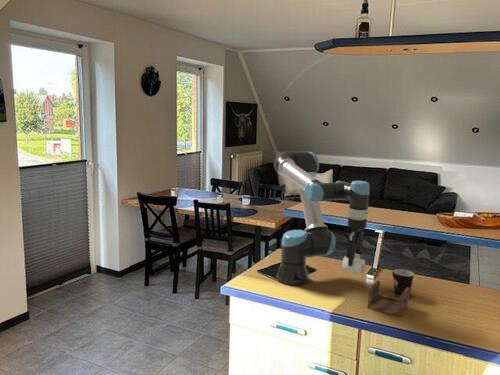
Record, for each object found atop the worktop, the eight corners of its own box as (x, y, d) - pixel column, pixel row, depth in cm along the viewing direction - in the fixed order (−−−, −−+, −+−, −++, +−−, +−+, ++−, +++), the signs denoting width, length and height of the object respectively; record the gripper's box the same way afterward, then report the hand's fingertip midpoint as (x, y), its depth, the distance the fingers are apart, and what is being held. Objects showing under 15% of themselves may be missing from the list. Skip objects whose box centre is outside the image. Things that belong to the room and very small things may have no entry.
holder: (366, 307, 174) (368, 289, 173) (374, 297, 184) (376, 280, 183) (401, 317, 166) (403, 298, 165) (408, 306, 176) (410, 288, 175)
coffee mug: (413, 298, 184) (415, 277, 182) (392, 296, 186) (394, 275, 184) (408, 288, 195) (410, 268, 194) (389, 286, 197) (391, 266, 195)
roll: (341, 269, 178) (343, 255, 179) (345, 269, 183) (347, 256, 184) (359, 273, 174) (362, 259, 175) (363, 273, 179) (365, 259, 180)
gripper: (359, 224, 166) (354, 279, 170) (373, 215, 181) (368, 266, 185) (340, 221, 169) (336, 275, 174) (356, 212, 185) (351, 262, 189)
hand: (353, 270), depth 180 cm, fingers closed on roll, 6 cm apart
